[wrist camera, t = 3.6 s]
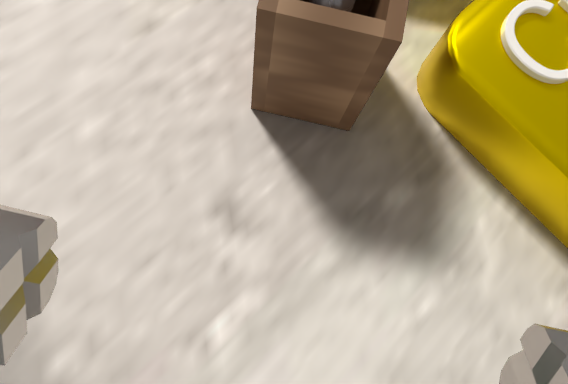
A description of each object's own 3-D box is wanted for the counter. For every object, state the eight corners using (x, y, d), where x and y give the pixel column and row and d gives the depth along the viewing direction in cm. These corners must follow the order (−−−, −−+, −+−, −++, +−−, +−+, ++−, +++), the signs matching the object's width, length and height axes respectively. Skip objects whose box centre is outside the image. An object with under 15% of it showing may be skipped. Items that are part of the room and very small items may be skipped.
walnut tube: (251, 108, 24) (256, 7, 16) (272, 20, 25) (287, -113, 17) (349, 130, 24) (402, 41, 16) (365, 42, 25) (422, -81, 17)
